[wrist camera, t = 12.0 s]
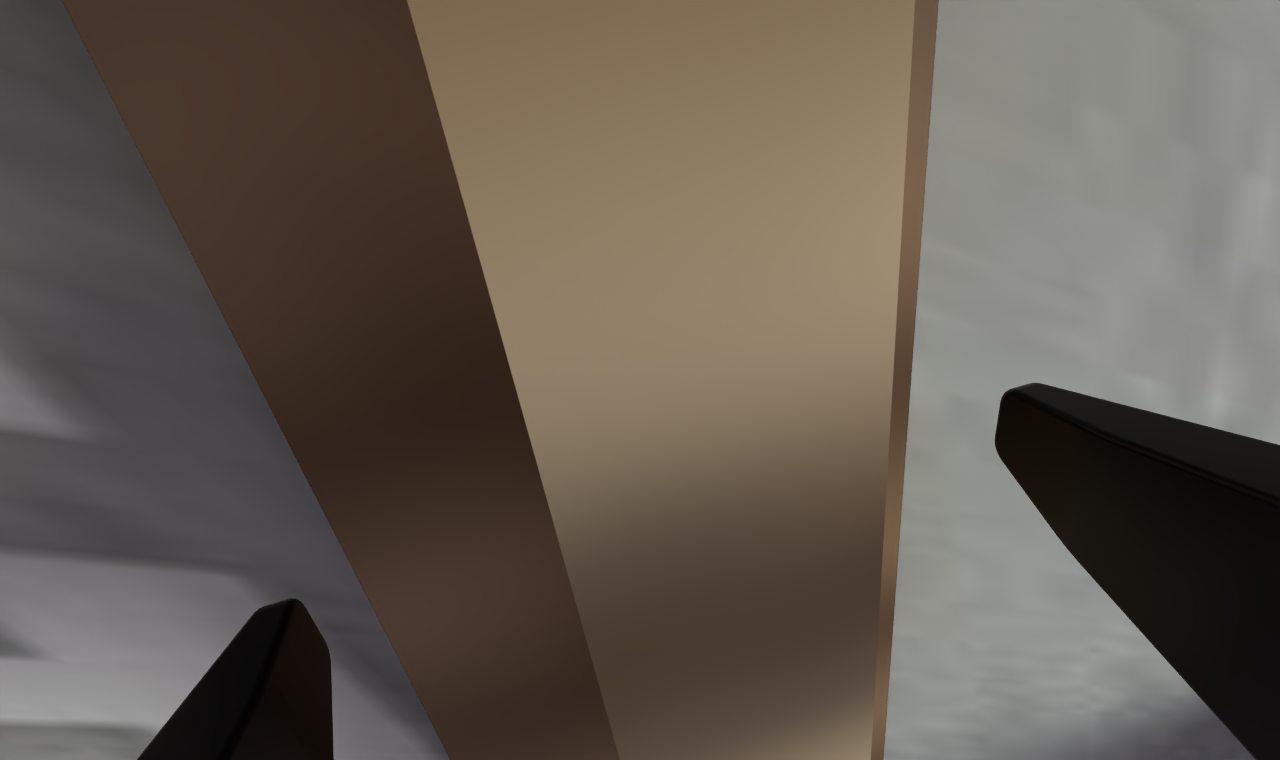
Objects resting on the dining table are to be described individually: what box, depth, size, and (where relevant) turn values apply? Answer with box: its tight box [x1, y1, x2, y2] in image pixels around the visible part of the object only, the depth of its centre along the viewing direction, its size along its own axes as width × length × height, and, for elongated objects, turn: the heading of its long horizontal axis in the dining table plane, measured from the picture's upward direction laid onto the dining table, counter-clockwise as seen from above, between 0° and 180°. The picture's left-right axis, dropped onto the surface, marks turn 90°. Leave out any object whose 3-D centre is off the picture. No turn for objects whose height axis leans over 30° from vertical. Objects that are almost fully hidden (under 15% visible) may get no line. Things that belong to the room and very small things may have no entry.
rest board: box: [62, 0, 939, 760], centre depth 11 cm, size 24×9×1 cm, turn 9°
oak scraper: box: [407, 0, 915, 760], centre depth 9 cm, size 16×3×4 cm, turn 8°
